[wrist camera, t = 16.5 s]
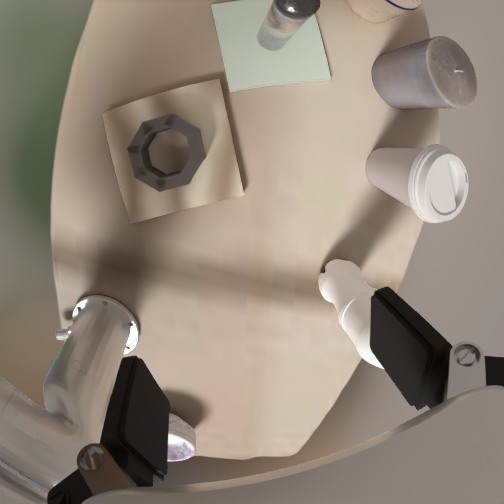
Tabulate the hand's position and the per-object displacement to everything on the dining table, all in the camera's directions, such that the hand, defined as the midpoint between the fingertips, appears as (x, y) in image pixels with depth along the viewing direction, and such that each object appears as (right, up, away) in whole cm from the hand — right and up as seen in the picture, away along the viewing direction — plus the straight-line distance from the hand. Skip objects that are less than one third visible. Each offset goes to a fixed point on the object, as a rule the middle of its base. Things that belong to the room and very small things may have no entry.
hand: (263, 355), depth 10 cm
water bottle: (+13, 0, +35) cm, 38 cm away
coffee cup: (+20, +17, +29) cm, 39 cm away
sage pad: (+2, +32, +20) cm, 38 cm away
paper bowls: (-21, -36, +46) cm, 62 cm away
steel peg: (+2, +32, +19) cm, 37 cm away
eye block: (-11, +17, +25) cm, 32 cm away
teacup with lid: (+18, +45, +17) cm, 51 cm away
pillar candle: (+22, +31, +24) cm, 45 cm away
